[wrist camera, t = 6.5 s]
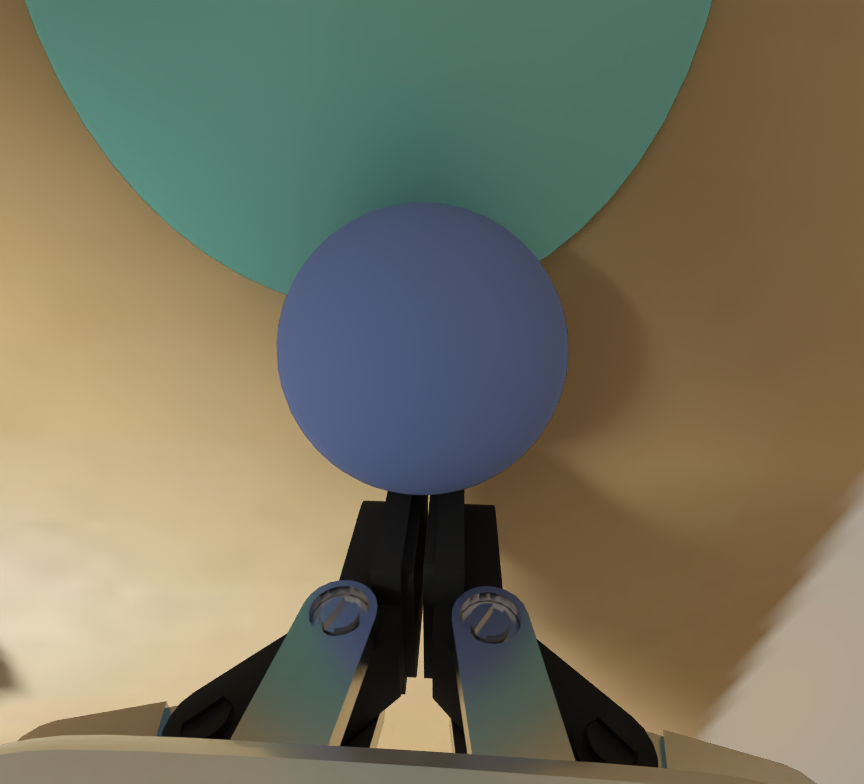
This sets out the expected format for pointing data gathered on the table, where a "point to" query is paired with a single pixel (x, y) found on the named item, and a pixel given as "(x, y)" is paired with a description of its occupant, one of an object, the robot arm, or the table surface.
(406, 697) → the table surface
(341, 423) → the ball
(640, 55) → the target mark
